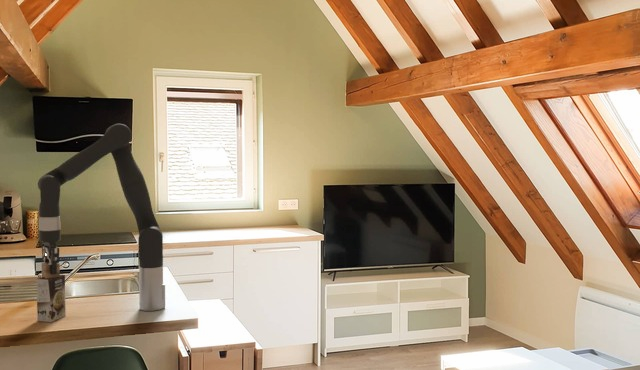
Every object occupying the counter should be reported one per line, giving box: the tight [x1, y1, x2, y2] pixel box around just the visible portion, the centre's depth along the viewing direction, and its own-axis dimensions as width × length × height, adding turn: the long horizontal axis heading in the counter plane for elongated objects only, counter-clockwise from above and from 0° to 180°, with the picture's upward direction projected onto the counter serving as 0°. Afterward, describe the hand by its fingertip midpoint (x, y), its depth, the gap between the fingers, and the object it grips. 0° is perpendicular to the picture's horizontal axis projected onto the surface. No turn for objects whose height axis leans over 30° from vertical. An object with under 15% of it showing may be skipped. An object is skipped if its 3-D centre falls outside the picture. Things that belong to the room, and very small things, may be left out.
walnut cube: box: [41, 262, 61, 278], centre depth 244 cm, size 5×5×5 cm
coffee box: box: [36, 274, 66, 323], centre depth 245 cm, size 9×6×16 cm
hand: (50, 272), depth 245 cm, fingers open, 6 cm apart
